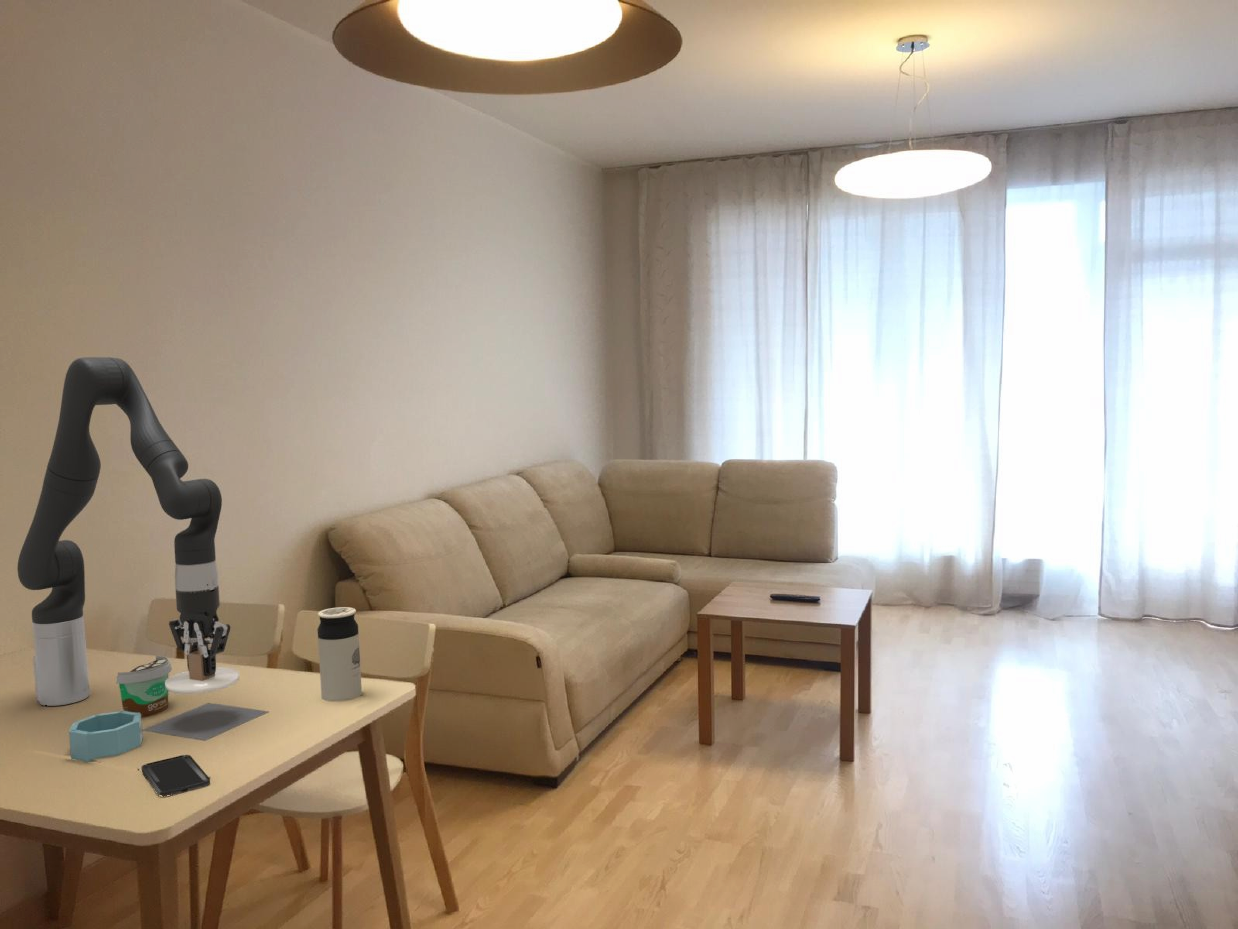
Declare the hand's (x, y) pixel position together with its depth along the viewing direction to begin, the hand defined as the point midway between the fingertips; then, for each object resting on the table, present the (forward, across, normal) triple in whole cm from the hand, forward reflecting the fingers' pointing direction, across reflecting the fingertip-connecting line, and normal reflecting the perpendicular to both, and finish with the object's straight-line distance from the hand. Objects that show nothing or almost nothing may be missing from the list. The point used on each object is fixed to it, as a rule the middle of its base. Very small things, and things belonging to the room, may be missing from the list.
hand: (202, 673), depth 187 cm
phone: (+10, +16, -21) cm, 28 cm away
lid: (+2, 0, 0) cm, 2 cm away
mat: (+10, 0, 0) cm, 10 cm away
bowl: (+10, -6, -16) cm, 20 cm away
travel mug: (+10, +16, +21) cm, 28 cm away
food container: (+10, -14, +1) cm, 18 cm away
